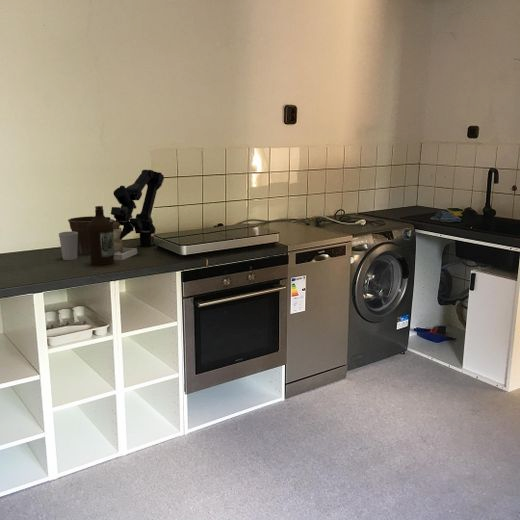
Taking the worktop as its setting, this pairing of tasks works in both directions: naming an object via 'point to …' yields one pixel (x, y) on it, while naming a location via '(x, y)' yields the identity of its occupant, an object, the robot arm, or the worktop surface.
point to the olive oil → (101, 239)
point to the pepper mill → (117, 238)
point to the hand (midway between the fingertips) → (115, 238)
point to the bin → (125, 253)
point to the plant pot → (81, 232)
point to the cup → (69, 245)
